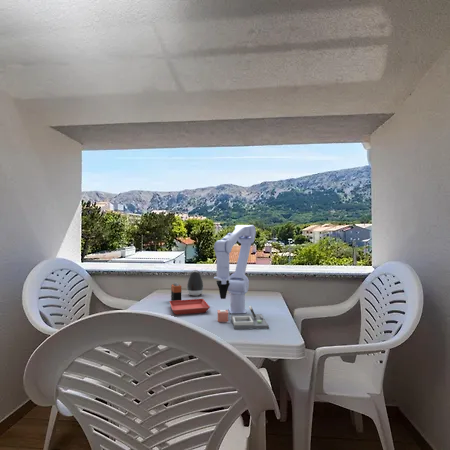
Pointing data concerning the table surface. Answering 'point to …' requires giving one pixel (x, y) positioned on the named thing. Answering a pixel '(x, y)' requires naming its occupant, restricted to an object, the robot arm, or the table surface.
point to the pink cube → (222, 315)
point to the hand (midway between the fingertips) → (222, 297)
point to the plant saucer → (189, 306)
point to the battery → (175, 292)
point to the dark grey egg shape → (195, 283)
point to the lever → (252, 312)
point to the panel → (248, 321)
